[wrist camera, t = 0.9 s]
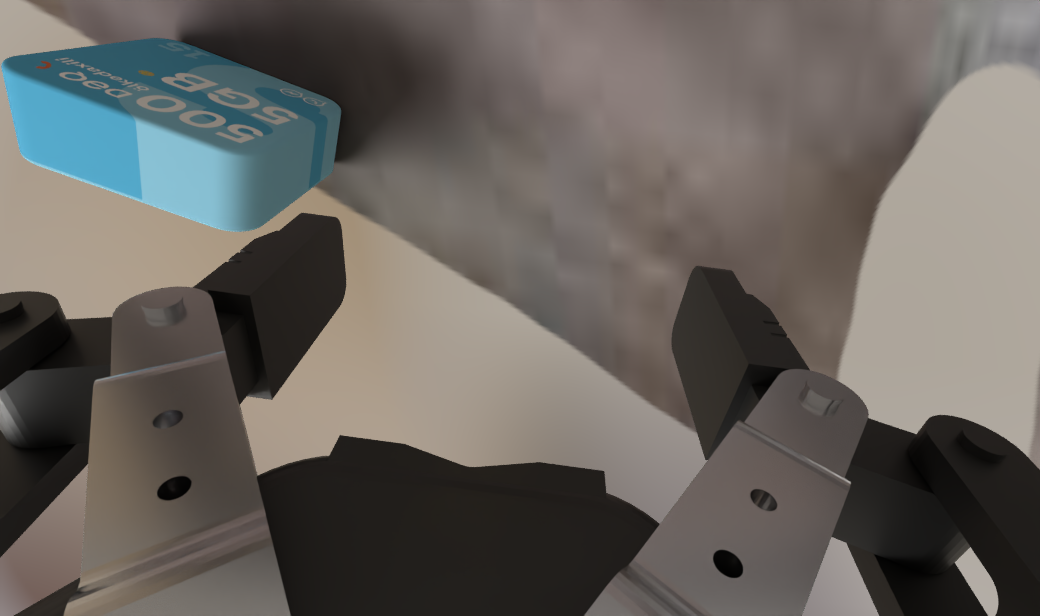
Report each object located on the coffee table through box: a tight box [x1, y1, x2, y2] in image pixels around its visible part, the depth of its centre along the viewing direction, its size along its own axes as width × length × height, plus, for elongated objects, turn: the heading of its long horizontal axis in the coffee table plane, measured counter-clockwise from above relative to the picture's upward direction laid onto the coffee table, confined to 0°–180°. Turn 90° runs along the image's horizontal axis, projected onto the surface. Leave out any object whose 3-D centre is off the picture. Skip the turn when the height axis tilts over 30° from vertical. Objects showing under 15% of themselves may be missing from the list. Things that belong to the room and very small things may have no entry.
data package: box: [1, 38, 341, 232], centre depth 29 cm, size 12×4×12 cm, turn 70°
